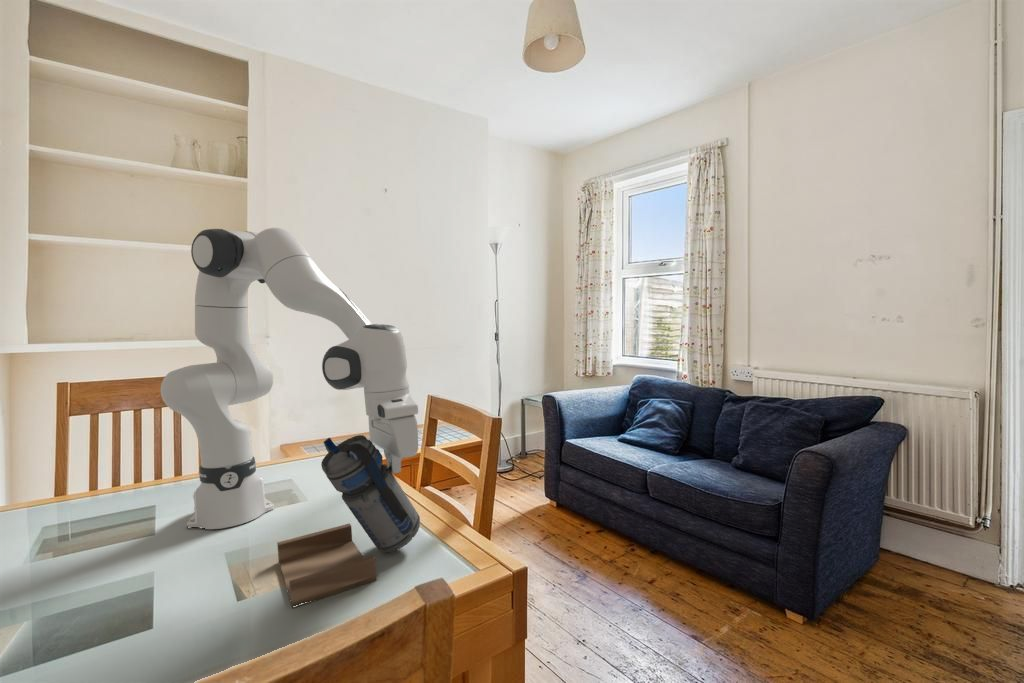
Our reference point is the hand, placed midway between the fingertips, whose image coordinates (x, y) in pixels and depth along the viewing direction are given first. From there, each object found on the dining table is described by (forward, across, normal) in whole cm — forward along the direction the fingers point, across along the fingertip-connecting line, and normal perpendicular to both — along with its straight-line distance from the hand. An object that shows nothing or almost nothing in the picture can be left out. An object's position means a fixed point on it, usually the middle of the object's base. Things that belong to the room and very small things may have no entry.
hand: (394, 471), depth 97 cm
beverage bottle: (+14, -1, +1) cm, 14 cm away
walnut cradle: (+16, -1, -15) cm, 22 cm away
